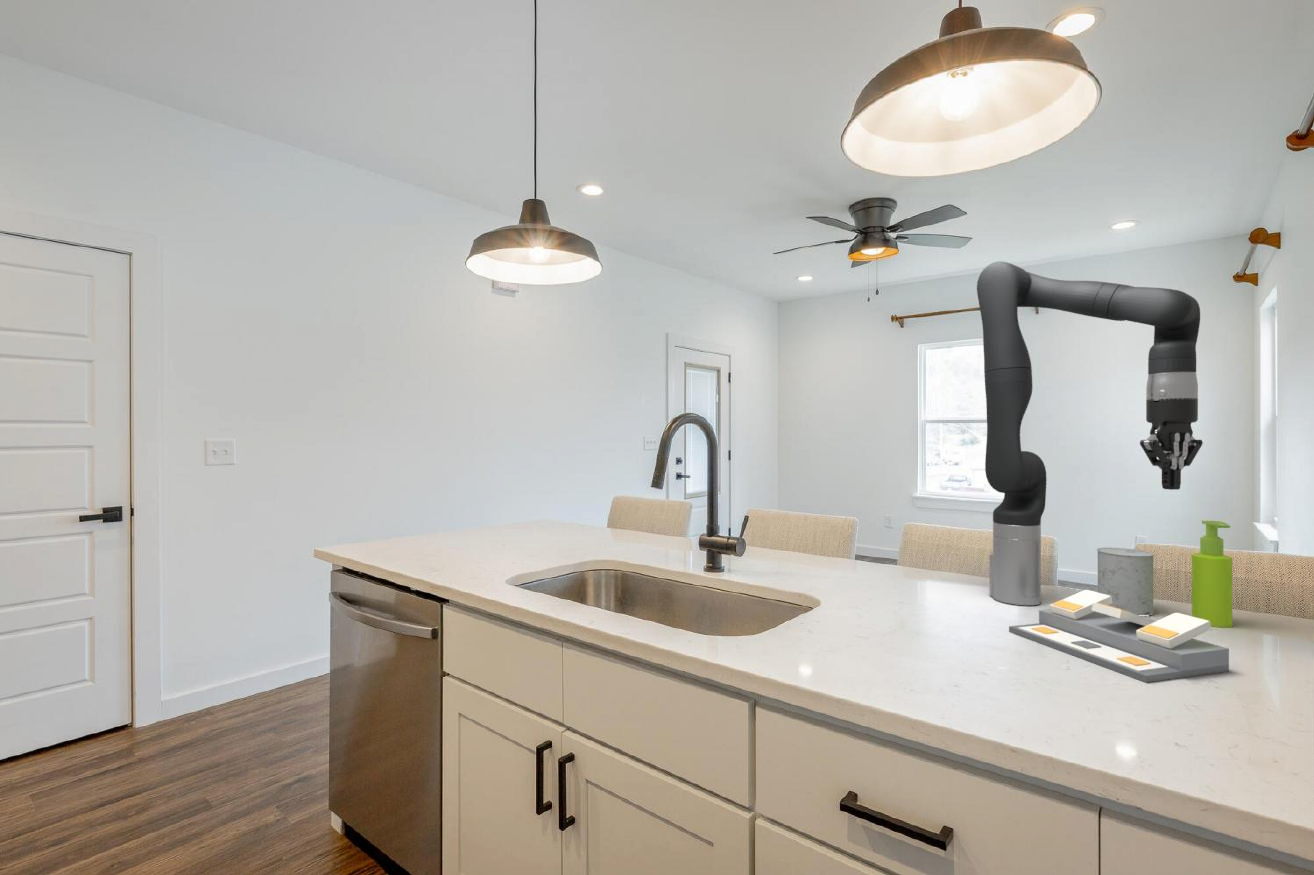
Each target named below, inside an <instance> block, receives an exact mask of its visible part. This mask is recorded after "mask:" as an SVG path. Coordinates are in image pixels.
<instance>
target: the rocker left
mask: <svg viewBox="0 0 1314 875" xmlns="http://www.w3.org/2000/svg"><path fill="white" fill-rule="evenodd" d="M1096 602H1097V603H1101V604H1104V605H1110V604H1112V603H1113V602H1112V597H1111V596H1109V595H1105V594H1101V593H1098V591H1093V590H1089V589H1084V590H1082V591H1079V592H1077V593H1074V594H1072V595H1069V596H1067V597H1065V598H1063V599H1061V600H1057V601H1055V602H1053V603H1050V604H1049V609H1050V610H1051V612H1053V613H1056V614H1059V615H1062V616H1065V617H1069V618H1072V619H1075V620H1076V619H1078V618H1080V617H1083V616H1085V615H1087V614H1089V613H1092V612H1094V611H1092V606H1093V603H1096Z"/></svg>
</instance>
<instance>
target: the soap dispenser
mask: <svg viewBox="0 0 1314 875" xmlns="http://www.w3.org/2000/svg"><path fill="white" fill-rule="evenodd" d="M1201 524H1203V525H1205V535H1203V536H1200V539H1199V540H1200V543H1199V545H1200V546H1199V548H1200V552H1197V553H1196V552H1195V553H1192V554H1191V616H1192V617H1196V618H1200V619H1204V620H1208V621H1210V625H1211V627H1214V626H1215V628H1232V627H1233V557H1231V556H1228V555H1224V538H1221V537H1220V536H1218V530H1219V529H1220V528H1222V529H1230V528H1231V525H1230V524H1228V523H1226V522H1223V521H1220V520H1217V521H1216V520H1201ZM1218 528H1219V529H1218Z"/></svg>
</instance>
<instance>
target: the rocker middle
mask: <svg viewBox="0 0 1314 875" xmlns="http://www.w3.org/2000/svg"><path fill="white" fill-rule="evenodd" d="M1092 611H1096V612H1099V613H1102V614H1106V615H1109V616H1112V617H1116V618H1119V619H1122V620H1126V621H1129V622H1133V623H1136V624H1140V625H1143V626H1147V625H1149V624H1151V623H1154V622H1156V621H1157V620H1156V619H1152V618H1149V617H1147V616H1139V615H1136V614H1133V613H1132V612H1129V611H1126V610H1123V609H1119V608H1115V607H1112V606H1108V605H1104V604H1101V603H1097V602H1096V603H1093V606H1092Z"/></svg>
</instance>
